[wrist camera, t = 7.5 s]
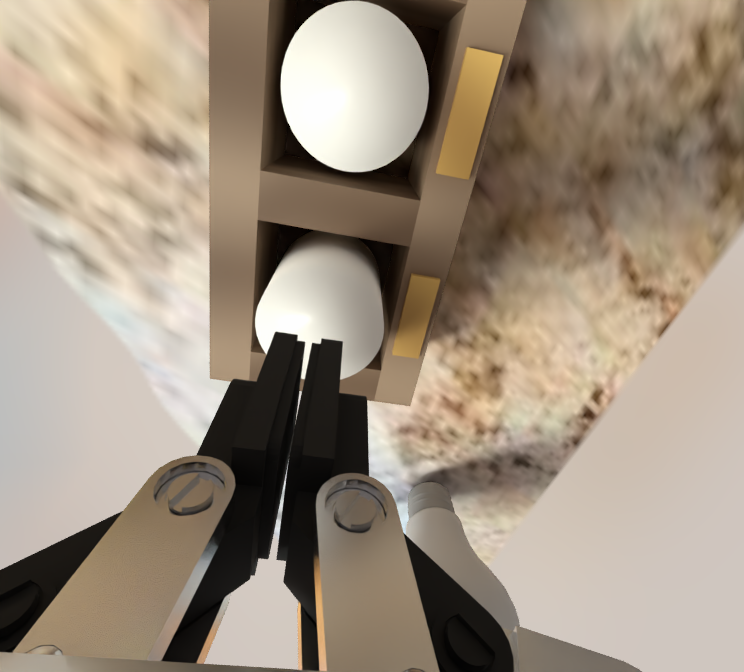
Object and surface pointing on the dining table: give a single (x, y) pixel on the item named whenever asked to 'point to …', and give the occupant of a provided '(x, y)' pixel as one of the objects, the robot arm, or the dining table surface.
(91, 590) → the robot arm
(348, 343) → the white egg
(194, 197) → the dining table surface
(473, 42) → the wooden egg rack
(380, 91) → the button middle
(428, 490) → the lightbulb
